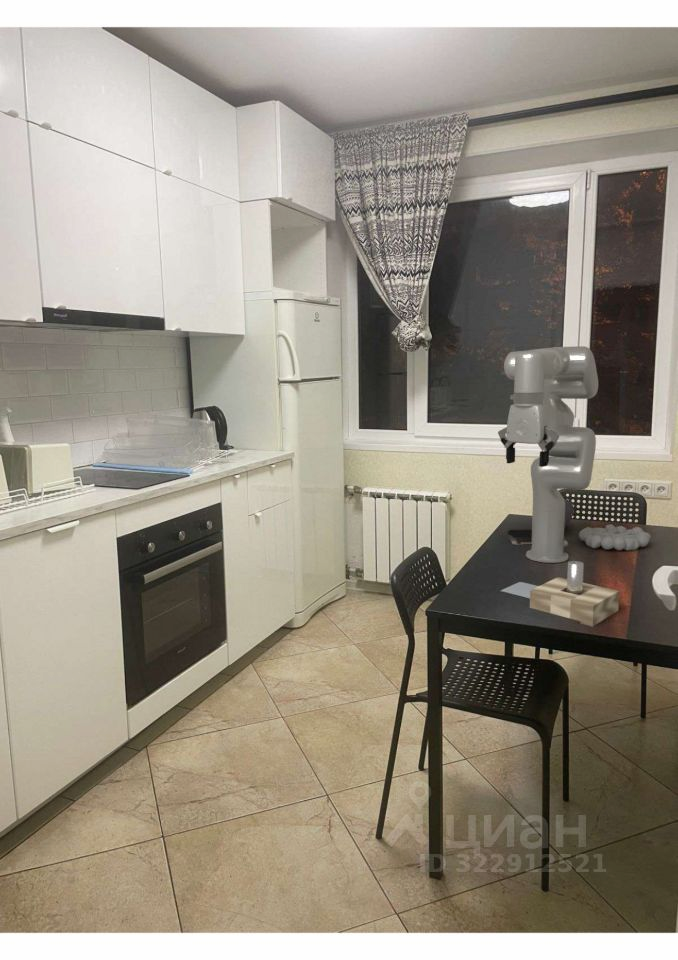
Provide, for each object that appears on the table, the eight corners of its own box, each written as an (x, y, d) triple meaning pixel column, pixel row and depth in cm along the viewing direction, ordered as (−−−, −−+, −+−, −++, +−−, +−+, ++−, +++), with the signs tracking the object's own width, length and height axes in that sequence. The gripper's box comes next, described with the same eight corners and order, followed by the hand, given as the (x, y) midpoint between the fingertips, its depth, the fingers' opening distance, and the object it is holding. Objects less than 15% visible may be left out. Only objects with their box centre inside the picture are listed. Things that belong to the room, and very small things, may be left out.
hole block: (557, 595, 175) (557, 577, 174) (618, 610, 164) (619, 590, 163) (529, 609, 166) (530, 590, 165) (592, 626, 154) (593, 605, 154)
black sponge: (553, 539, 232) (553, 528, 232) (560, 545, 224) (561, 534, 223) (505, 540, 233) (505, 529, 232) (511, 546, 224) (511, 535, 224)
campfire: (638, 558, 208) (639, 540, 207) (570, 548, 220) (571, 530, 219) (656, 543, 225) (657, 526, 224) (592, 534, 238) (592, 518, 237)
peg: (570, 606, 167) (572, 559, 165) (584, 610, 165) (586, 562, 163) (563, 610, 165) (565, 563, 163) (577, 614, 162) (579, 566, 160)
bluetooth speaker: (567, 537, 233) (568, 509, 231) (539, 535, 237) (540, 507, 235) (575, 523, 253) (576, 497, 251) (549, 521, 257) (550, 495, 255)
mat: (520, 583, 185) (520, 581, 185) (553, 591, 178) (553, 589, 178) (500, 592, 178) (500, 590, 178) (534, 601, 171) (534, 599, 171)
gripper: (492, 399, 179) (490, 463, 182) (552, 401, 167) (549, 469, 170) (507, 398, 185) (505, 460, 187) (566, 399, 172) (564, 465, 175)
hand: (526, 464), depth 179 cm, fingers open, 9 cm apart
